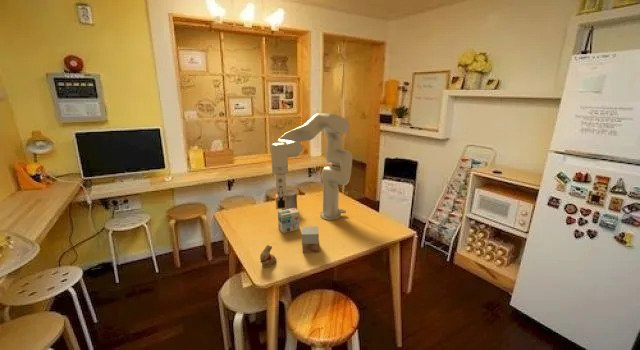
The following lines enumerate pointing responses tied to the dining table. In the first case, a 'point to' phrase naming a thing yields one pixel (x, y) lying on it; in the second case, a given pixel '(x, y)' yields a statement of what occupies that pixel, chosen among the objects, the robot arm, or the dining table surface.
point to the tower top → (310, 235)
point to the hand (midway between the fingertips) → (281, 205)
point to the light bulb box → (288, 220)
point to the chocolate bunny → (267, 257)
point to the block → (277, 202)
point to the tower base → (310, 248)
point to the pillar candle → (291, 199)
